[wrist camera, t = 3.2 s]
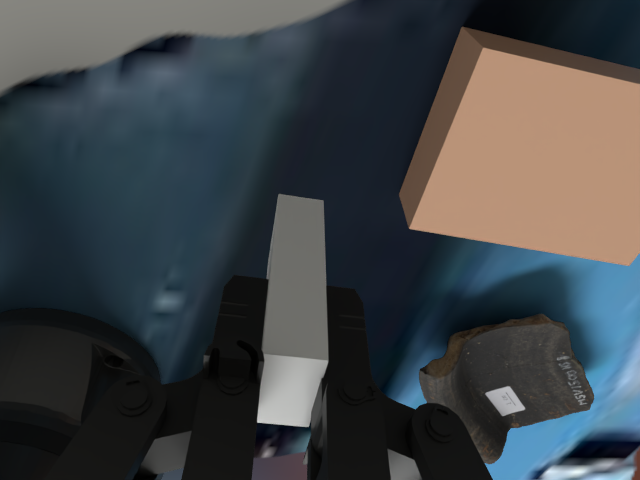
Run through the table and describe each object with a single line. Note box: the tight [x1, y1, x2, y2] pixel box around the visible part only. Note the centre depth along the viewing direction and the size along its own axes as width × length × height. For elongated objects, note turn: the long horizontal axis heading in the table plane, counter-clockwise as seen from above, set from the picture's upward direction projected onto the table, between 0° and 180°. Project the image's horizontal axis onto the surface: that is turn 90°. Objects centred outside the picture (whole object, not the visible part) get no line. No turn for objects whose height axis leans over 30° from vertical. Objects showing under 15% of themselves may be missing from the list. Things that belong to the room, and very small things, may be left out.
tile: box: [399, 27, 640, 266], centre depth 27 cm, size 14×10×4 cm
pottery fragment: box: [419, 314, 594, 464], centre depth 38 cm, size 15×12×4 cm
